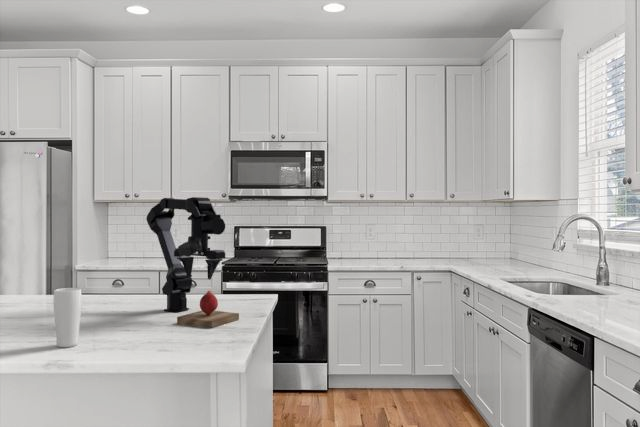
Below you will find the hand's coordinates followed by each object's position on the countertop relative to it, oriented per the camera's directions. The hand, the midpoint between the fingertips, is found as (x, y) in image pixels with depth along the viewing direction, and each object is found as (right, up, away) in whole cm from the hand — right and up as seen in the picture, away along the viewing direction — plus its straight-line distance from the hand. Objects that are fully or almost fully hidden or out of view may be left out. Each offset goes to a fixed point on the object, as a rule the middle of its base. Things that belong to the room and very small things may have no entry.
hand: (199, 278), depth 178 cm
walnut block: (+6, -14, -11) cm, 18 cm away
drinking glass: (-25, -13, -41) cm, 50 cm away
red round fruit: (+6, -11, -11) cm, 17 cm away
